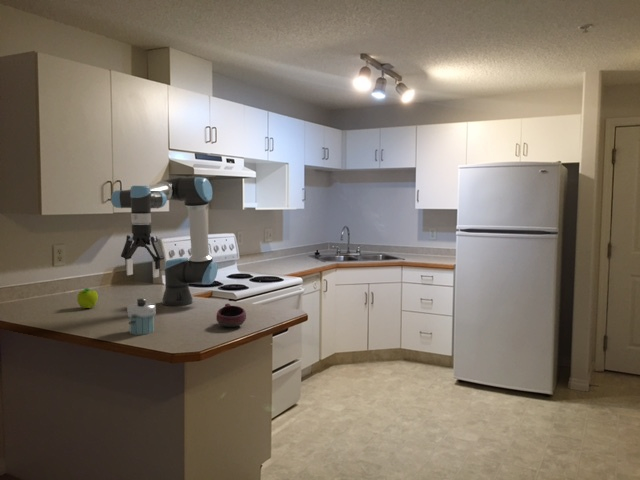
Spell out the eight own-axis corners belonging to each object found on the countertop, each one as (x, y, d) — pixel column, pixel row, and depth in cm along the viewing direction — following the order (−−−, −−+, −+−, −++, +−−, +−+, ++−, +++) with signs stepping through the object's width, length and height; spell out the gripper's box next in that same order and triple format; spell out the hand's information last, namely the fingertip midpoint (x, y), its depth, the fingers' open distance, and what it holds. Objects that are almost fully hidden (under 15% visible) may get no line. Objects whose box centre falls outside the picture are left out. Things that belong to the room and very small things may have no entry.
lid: (140, 310, 225) (140, 295, 224) (161, 313, 220) (161, 297, 220) (121, 316, 215) (121, 300, 214) (143, 318, 210) (142, 302, 210)
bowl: (252, 326, 227) (252, 308, 227) (227, 332, 218) (227, 312, 218) (230, 320, 239) (229, 302, 238) (205, 325, 229) (205, 306, 229)
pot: (144, 326, 226) (143, 310, 225) (161, 329, 222) (161, 312, 222) (121, 334, 214) (121, 317, 213) (139, 336, 210) (139, 319, 210)
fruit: (75, 310, 256) (75, 290, 255) (80, 306, 265) (79, 286, 264) (96, 309, 258) (95, 289, 257) (99, 305, 267) (99, 286, 266)
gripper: (110, 223, 216) (112, 275, 218) (159, 225, 206) (161, 279, 208) (124, 222, 223) (125, 272, 225) (172, 224, 213) (173, 276, 215)
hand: (142, 276), depth 217 cm, fingers open, 13 cm apart
